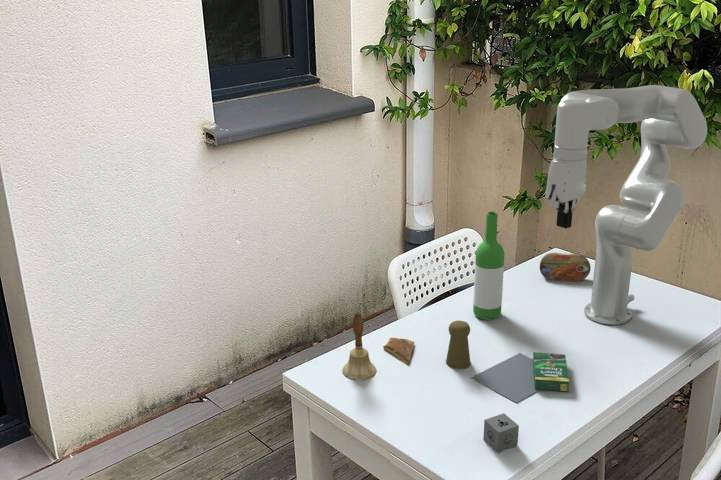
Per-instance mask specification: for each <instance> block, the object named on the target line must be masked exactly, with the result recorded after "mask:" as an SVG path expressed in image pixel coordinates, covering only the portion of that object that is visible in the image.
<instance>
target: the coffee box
mask: <svg viewBox="0 0 721 480" xmlns="http://www.w3.org/2000/svg"><path fill="white" fill-rule="evenodd" d="M532 359H533V373H534V386H535V389H541V390H542V391H543V390H545V391H559V392H570V377H569V371H568V365H567V357H566V354H562V353H561V354H559V353H549V352H537V351H533V353H532ZM541 390H540V391H541Z"/></svg>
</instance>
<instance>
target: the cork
mask: <svg viewBox="0 0 721 480" xmlns="http://www.w3.org/2000/svg"><path fill="white" fill-rule="evenodd" d="M470 333H471V327H470V324H469V323H468V322H466V321H465V320H464V321H463V320H454V321H451V323H450V324H449V326H448V334H449V335H450V337H449V343H448V349H447V353H446V358H445V359H446V360H445V364H446V365H447V367H449V368H452V369H455V370H464V369H467V368H468V367H470V366H471V356H470V347H469V346H470V345H469V338H468V337H469V336H470Z"/></svg>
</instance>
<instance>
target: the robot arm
mask: <svg viewBox="0 0 721 480" xmlns="http://www.w3.org/2000/svg"><path fill="white" fill-rule="evenodd" d="M556 109H557V110H556V121H555V131H554V132H555V133H554V147H553V157H552V160H551V162H550V165H549V167H548V168H549V169H548V175H547V178H546V179H547V180H546V187H545V198H546V200H550V205H549V207H550V208H554V209H555V210H556V211H557V213H556V226H557V227H560V228H563V229H565V230H567V229H569V228H571V227H572V221H573V212H574V211H575V206H576V204H577V202H579V201H580V200H581V199H582V197H583V196H584V195H585V192H586V188H587V178H588V177H587V174H588V173H587V172H588V170H587V169H588V167H587V156H588V155H587V154H588V153H587V152H588V143H589V134H590V131H593V130H594V131H595V130H607V129H609V128H611V127H613V126H614V125H615V124H616V123H617V124H619V123H621V124H629V123H630V124H631V123H636V122H641V123H640V124H641V125H640V137H641V138H640V139H641V152H640V156H639V158H638V160H637V162H636V164H635V165H634V167H633V169H632V171H631V172H630V174H629V175H628V177H627V178H626V179H625V181H624V183H623V185H622V187H621V189H620V191H619V200H620V202H621V203H622V204H623V205H624V206H622V205H619V204H608V205H605V206H603V207H602V208H601V209H599V211H598V212H597V214H596V217H595V224H594V226H595V236H596V249H595V250H596V251H595V261H594V269H593V270H594V271H593V281H592V287H591V288H592V290H591V300H590V303H588V304H586V305H585V307H584V309H583V313H584V315H585V316H586V317H587V318H588V319H589V320H591V321H593V322H596V323H597V324H603V325H611V326H612V325H614V326H615V325H616V326H617V325H618V326H619V325H623V324H626V323H628V322H630V321H631V320H632V317H633V313H632V311H631V310H630V309H629V308H628V305H629V303H631V302H634V300H635V299H636V297H635V295H634V294H629V292H630V285H631V284H630V283H631V277H632V267H633V261H634V258H633V257H634V256H633V251H632V249H631V248H634V249H637V250H640V251H644V252H650V251H653V250H655V249H656V248H657V247H658V246H659V245H660V244H661V242H662V241H663V239H664V237H665V236H666V234H667V233H668V231H669V229H670V228H671V226H672V224H673V223H674V221H675V219H677V216H678V214H679V212H680V211H681V209H682V206H683V203H684V197H685V194H684V193H685V192H684V189H683V187H682V186H681V185H680V184H679V183H678V182H676V181H673V180H670V179H667V177H668V175H669V174H670V172H671V169H672V162H671V157H670V154H669V152H668V149H667V146H671V147H676V148H681V149H687V150H695V149H697V148H700V147H702V145H703V144H704V142H705V141H706V138H707V134H708V125H707V121H706V118H705V116H704V114H703V112H702V110H701V107H700V106H699V103H698V101H697V99H696V98H695V97H694V95H693V94H692V93H691V92H690V91H688V89H685V88H680V87H679V88H678V87H672V86H665V85H659V84H658V85H657V84H652V85H642V86H636V87H635V86H634V87H629V88H628V87H627V88H608V89H607V88H606V89H601V88H600V89H581V90H573V91H570V92H568V93H567V94H565V95H564V96H563V97H562V98H561V100H560V102H559V103H558V104H557V108H556ZM666 145H667V146H666Z"/></svg>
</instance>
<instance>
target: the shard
mask: <svg viewBox="0 0 721 480" xmlns="http://www.w3.org/2000/svg"><path fill="white" fill-rule="evenodd" d="M414 345H415V340H414V341H413V340H410V339H407V338H399V337H389V338H388V341H387V342H386V343H385V345H383V346H382V347H383V350H385V351H387V352H388V353H391V354H392V355H393V354H394V355H393V356H394V357H396V358H397V357H398V360H400V361H401V360H402V361H401V362H403V363H406V364H407V363H408V364H407V365H409V364H410V360H411V356H412V353H413V349H414Z"/></svg>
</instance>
